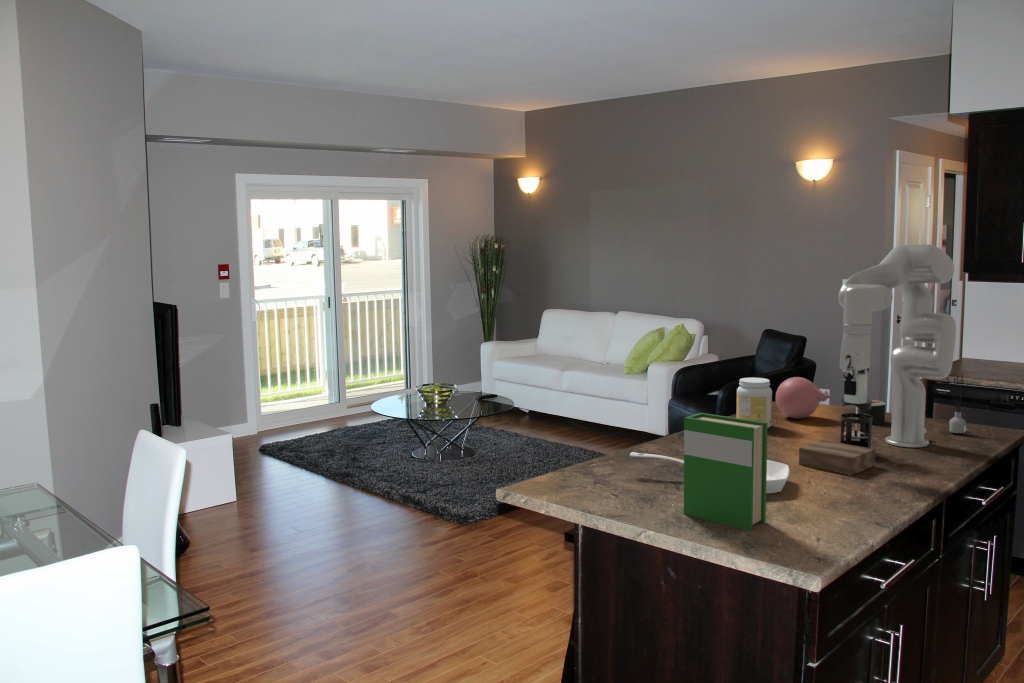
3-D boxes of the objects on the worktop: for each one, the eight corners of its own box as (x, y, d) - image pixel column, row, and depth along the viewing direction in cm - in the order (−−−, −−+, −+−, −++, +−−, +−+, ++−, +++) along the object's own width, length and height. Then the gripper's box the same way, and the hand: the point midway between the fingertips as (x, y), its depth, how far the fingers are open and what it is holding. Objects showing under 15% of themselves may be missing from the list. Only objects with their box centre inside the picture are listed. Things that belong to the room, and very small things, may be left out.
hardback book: (765, 522, 190) (767, 422, 187) (750, 530, 185) (752, 428, 182) (699, 506, 202) (700, 412, 199) (683, 514, 197) (684, 417, 194)
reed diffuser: (960, 437, 266) (963, 377, 264) (938, 434, 271) (940, 375, 269) (970, 431, 273) (973, 373, 271) (948, 428, 278) (951, 371, 276)
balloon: (821, 426, 286) (822, 383, 284) (767, 418, 299) (768, 378, 298) (838, 419, 297) (839, 377, 295) (786, 412, 310) (787, 372, 309)
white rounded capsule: (849, 398, 234) (850, 371, 233) (870, 401, 230) (871, 373, 229) (840, 401, 230) (841, 374, 229) (861, 404, 226) (861, 376, 225)
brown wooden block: (822, 455, 247) (823, 439, 246) (874, 465, 235) (875, 449, 234) (798, 464, 238) (799, 448, 237) (851, 475, 226) (851, 458, 225)
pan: (787, 503, 204) (788, 478, 203) (620, 488, 219) (620, 465, 218) (790, 473, 230) (790, 451, 229) (640, 462, 244) (639, 441, 244)
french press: (861, 460, 241) (863, 384, 238) (831, 454, 248) (833, 381, 245) (880, 453, 248) (883, 379, 246) (851, 448, 256) (853, 376, 253)
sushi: (889, 423, 288) (890, 401, 287) (868, 425, 286) (869, 403, 285) (874, 419, 296) (875, 397, 295) (854, 420, 294) (855, 399, 293)
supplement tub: (747, 421, 296) (748, 375, 294) (778, 426, 287) (779, 379, 285) (729, 426, 288) (729, 380, 286) (760, 432, 279) (760, 384, 277)
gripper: (858, 326, 236) (856, 387, 238) (829, 332, 225) (828, 395, 227) (884, 328, 230) (882, 390, 233) (856, 334, 219) (854, 399, 221)
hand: (855, 392), depth 230 cm, fingers closed on white rounded capsule, 6 cm apart
